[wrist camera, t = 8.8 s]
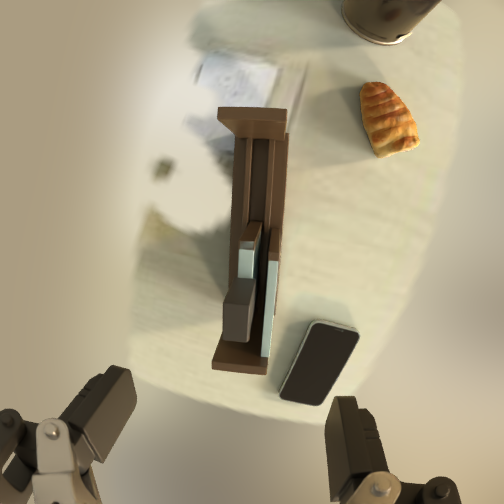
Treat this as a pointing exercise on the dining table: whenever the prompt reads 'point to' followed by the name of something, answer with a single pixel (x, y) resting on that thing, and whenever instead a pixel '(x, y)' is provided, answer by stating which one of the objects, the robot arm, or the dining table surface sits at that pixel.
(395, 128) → the pastry
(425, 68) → the dining table surface
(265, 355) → the window frame
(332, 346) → the smartphone
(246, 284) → the sash
